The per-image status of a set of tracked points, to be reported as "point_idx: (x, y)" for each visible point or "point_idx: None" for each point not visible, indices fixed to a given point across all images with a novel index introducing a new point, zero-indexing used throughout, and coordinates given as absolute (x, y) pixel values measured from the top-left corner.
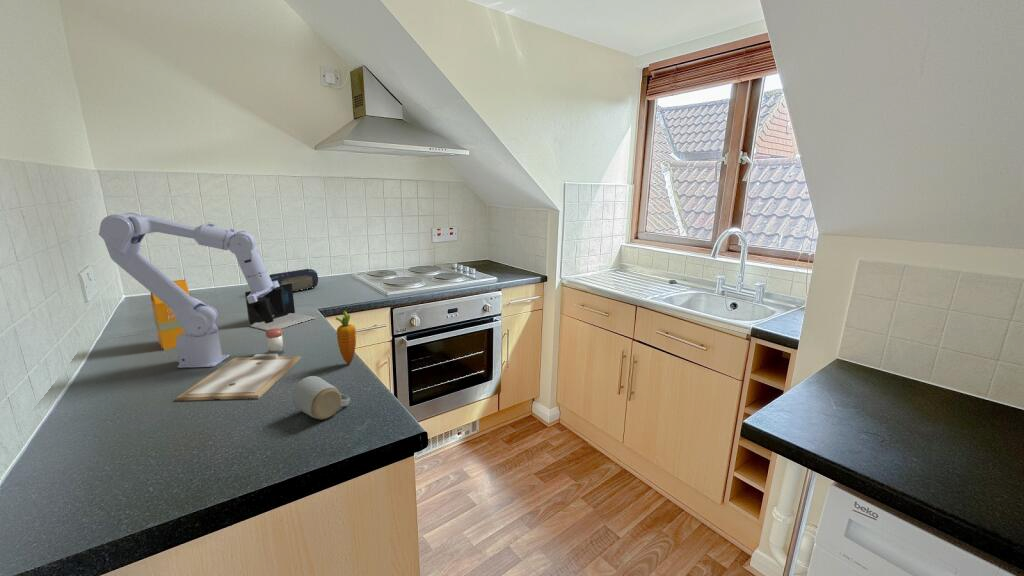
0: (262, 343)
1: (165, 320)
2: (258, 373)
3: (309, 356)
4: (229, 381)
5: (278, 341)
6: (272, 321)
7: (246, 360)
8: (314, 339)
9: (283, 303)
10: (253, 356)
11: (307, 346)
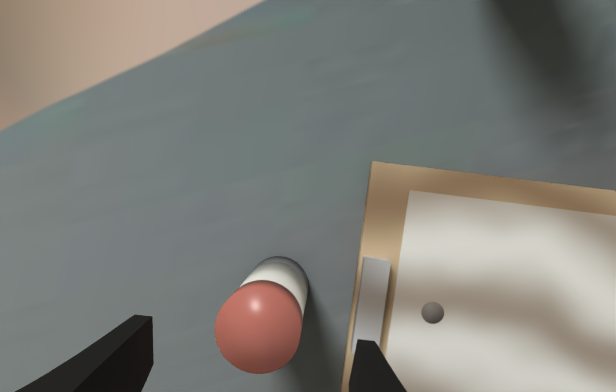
0: None
1: None
2: (552, 279)
3: (349, 131)
4: (614, 364)
5: (292, 283)
6: (375, 342)
7: None
8: (125, 164)
9: (85, 358)
10: None
11: (217, 173)
